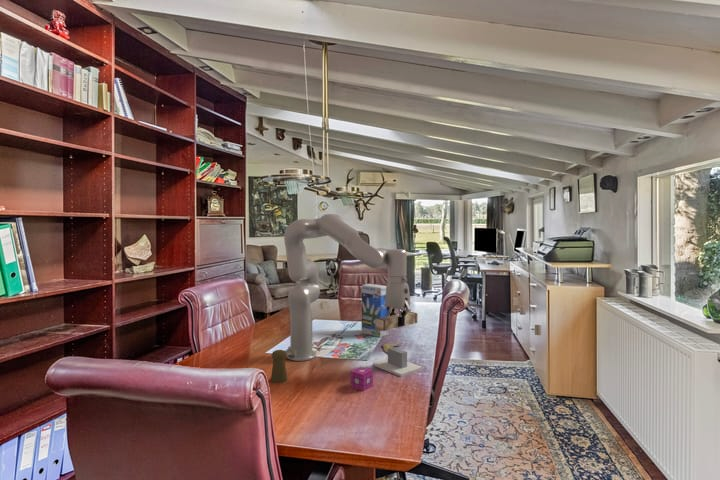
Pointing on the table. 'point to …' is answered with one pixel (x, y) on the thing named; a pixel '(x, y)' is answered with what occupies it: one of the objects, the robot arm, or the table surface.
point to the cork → (279, 367)
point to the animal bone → (388, 346)
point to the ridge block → (397, 363)
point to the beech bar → (394, 321)
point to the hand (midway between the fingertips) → (397, 324)
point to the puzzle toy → (362, 378)
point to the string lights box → (373, 308)
